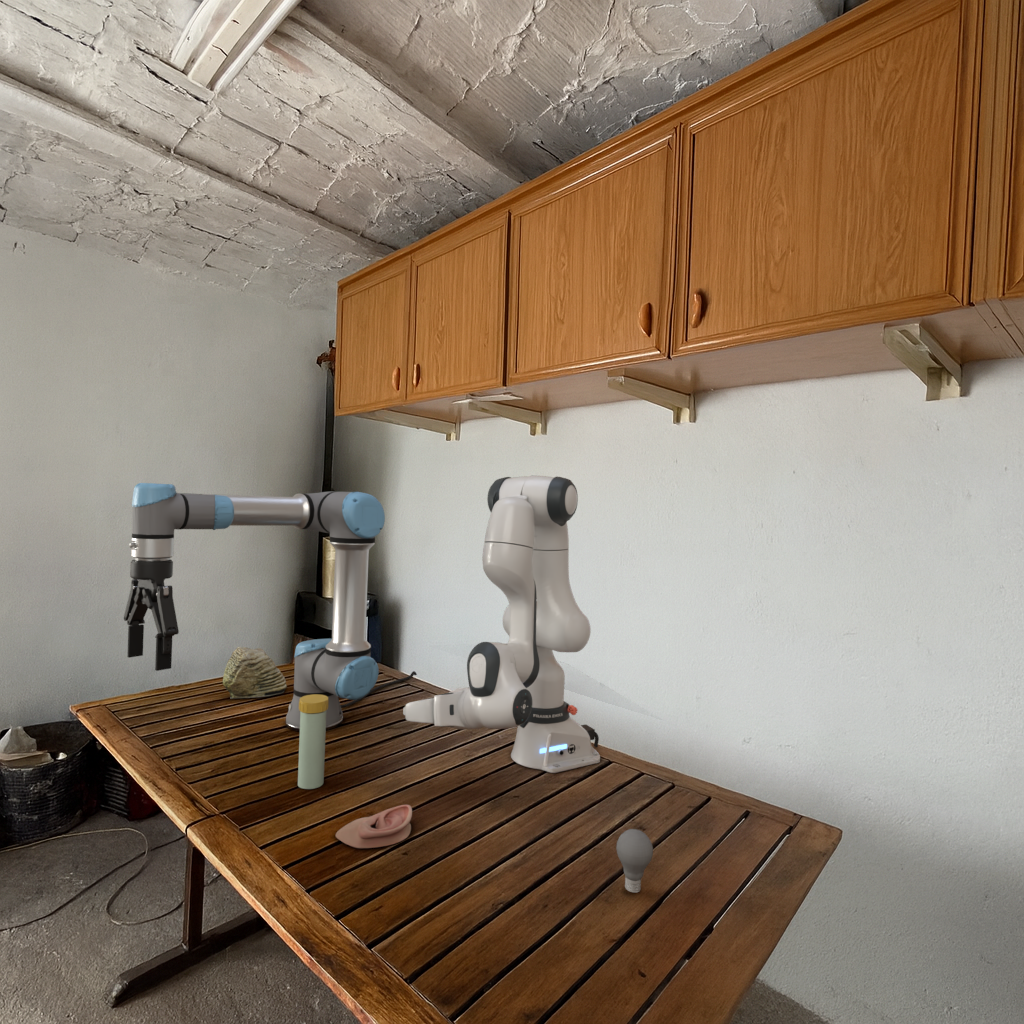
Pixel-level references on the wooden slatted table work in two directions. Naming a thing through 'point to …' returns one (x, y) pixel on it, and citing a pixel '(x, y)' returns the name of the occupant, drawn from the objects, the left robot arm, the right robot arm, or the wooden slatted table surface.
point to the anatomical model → (378, 828)
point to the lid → (313, 703)
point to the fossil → (252, 674)
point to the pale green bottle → (311, 750)
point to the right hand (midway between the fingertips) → (420, 709)
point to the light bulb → (634, 857)
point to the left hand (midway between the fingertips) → (148, 662)
